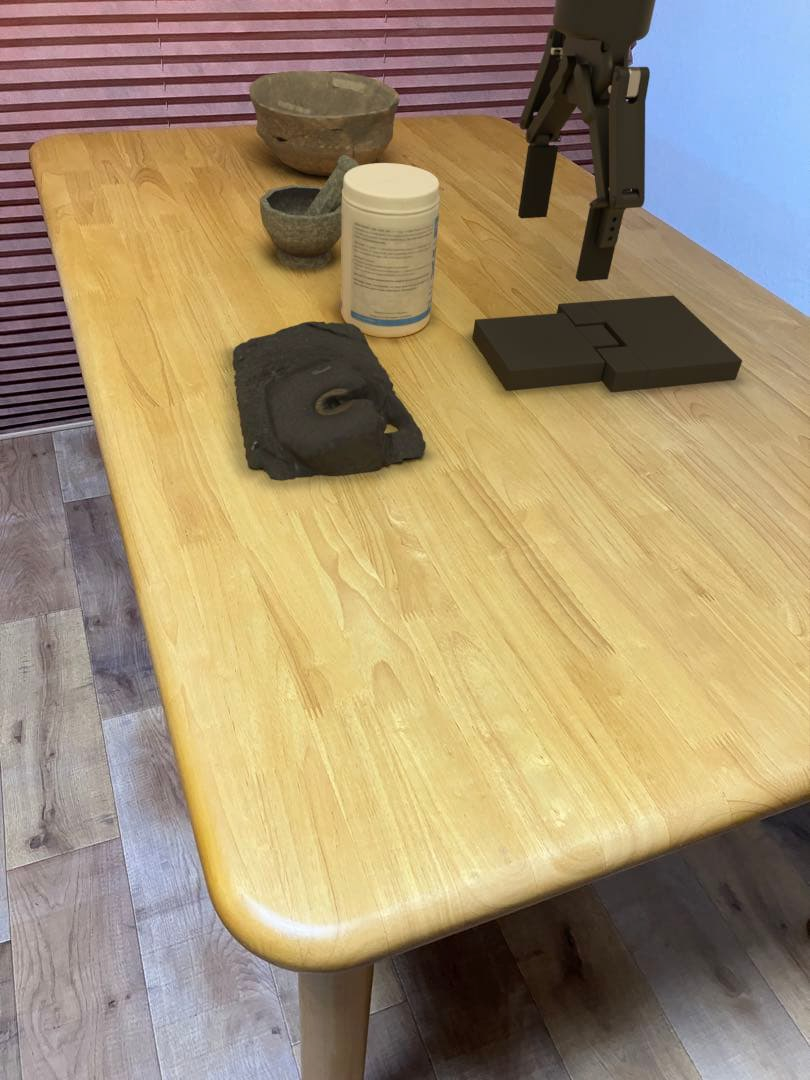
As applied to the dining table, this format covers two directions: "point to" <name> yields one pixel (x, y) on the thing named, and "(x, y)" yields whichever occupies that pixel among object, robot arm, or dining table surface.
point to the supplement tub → (388, 248)
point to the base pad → (655, 343)
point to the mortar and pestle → (306, 219)
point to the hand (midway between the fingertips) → (560, 246)
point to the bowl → (323, 118)
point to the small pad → (541, 350)
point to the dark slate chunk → (319, 404)
